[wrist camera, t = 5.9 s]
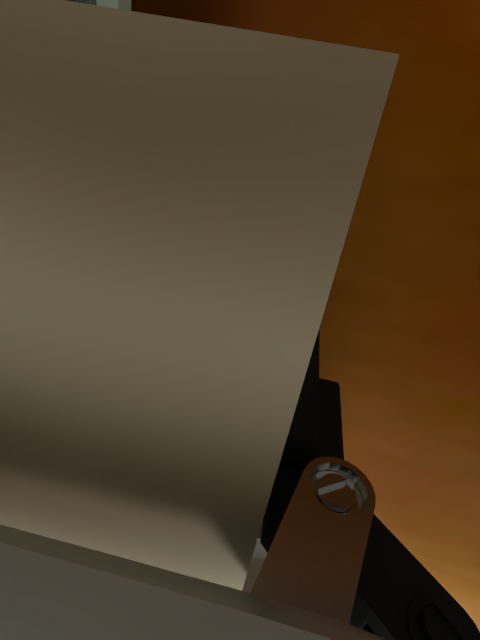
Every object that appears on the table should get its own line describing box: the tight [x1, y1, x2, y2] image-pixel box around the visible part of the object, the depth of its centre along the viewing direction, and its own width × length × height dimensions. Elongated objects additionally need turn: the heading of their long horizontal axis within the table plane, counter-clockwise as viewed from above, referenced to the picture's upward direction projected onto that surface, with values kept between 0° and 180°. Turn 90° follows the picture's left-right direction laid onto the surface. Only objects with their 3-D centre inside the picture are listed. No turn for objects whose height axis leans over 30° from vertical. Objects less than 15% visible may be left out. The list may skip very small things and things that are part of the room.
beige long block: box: [0, 0, 400, 591], centre depth 10 cm, size 14×5×6 cm, turn 172°
